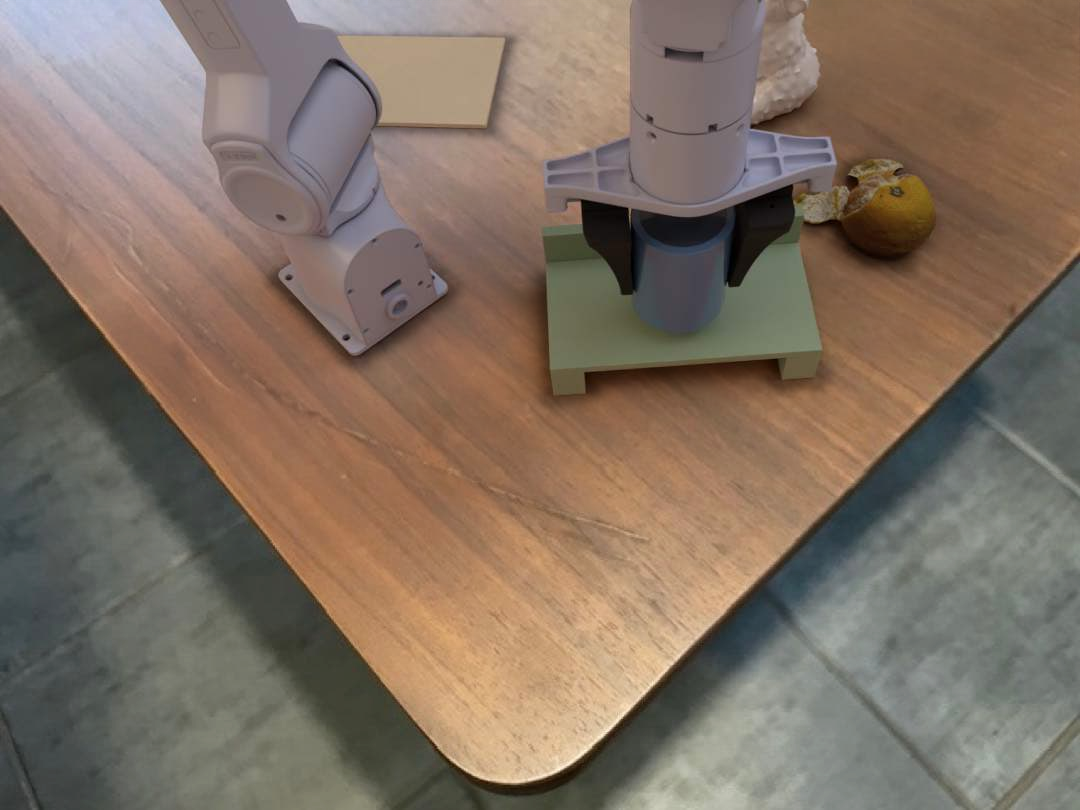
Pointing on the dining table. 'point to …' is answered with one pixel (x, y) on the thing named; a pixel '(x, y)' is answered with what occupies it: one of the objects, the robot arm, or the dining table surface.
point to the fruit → (877, 209)
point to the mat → (430, 77)
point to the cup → (680, 267)
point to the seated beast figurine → (784, 61)
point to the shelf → (629, 342)
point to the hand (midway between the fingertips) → (679, 277)
